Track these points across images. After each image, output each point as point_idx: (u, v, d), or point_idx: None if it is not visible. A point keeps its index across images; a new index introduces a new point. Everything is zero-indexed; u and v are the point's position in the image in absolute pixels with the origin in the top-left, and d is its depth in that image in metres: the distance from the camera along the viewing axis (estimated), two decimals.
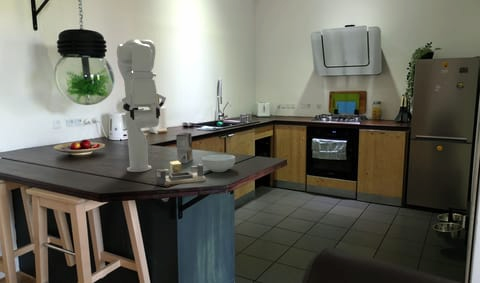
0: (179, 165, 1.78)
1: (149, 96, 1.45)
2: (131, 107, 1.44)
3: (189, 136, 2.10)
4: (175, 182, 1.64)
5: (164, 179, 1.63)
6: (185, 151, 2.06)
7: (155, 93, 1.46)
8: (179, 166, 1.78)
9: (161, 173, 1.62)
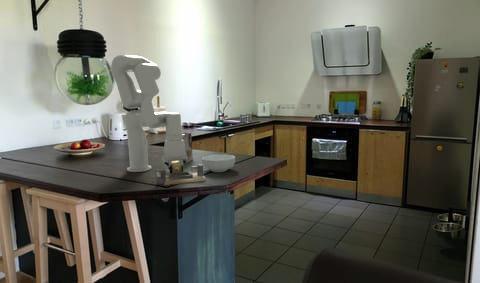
0: (179, 165, 1.78)
1: (179, 154, 1.78)
2: (170, 165, 1.78)
3: (189, 136, 2.10)
4: (175, 182, 1.64)
5: (164, 179, 1.63)
6: (185, 151, 2.06)
7: (184, 151, 1.79)
8: (179, 166, 1.78)
9: (161, 173, 1.62)
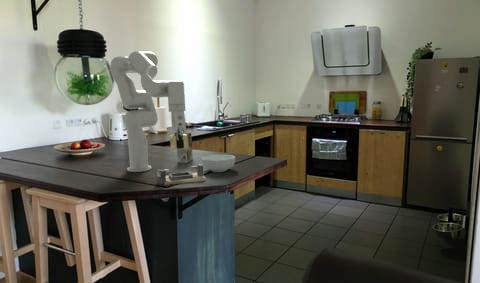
0: (171, 137, 1.65)
1: (173, 126, 1.64)
2: None
3: (189, 136, 2.10)
4: (175, 182, 1.64)
5: (164, 179, 1.63)
6: (185, 151, 2.06)
7: (175, 124, 1.62)
8: (171, 138, 1.65)
9: (161, 173, 1.62)
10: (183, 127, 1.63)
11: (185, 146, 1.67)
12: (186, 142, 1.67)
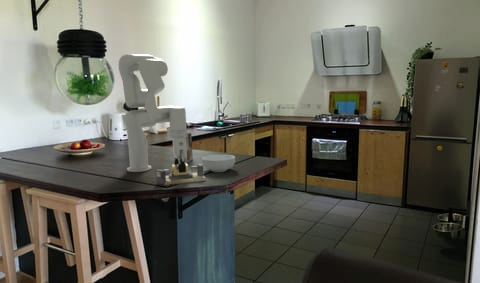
0: (173, 168, 1.67)
1: (175, 152, 1.66)
2: None
3: (189, 136, 2.10)
4: (175, 182, 1.64)
5: (164, 179, 1.63)
6: None
7: (176, 150, 1.63)
8: (173, 169, 1.67)
9: (161, 173, 1.62)
10: (184, 153, 1.64)
11: None
12: (187, 172, 1.69)
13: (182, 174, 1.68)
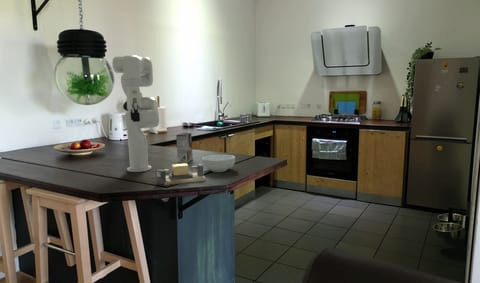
0: (173, 168, 1.67)
1: (129, 101, 1.64)
2: (130, 109, 1.72)
3: (189, 136, 2.10)
4: (175, 182, 1.64)
5: (164, 179, 1.63)
6: (185, 151, 2.06)
7: (129, 99, 1.62)
8: (173, 169, 1.67)
9: (161, 173, 1.62)
10: (138, 102, 1.62)
11: None
12: (187, 172, 1.69)
13: (182, 174, 1.68)
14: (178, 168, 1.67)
